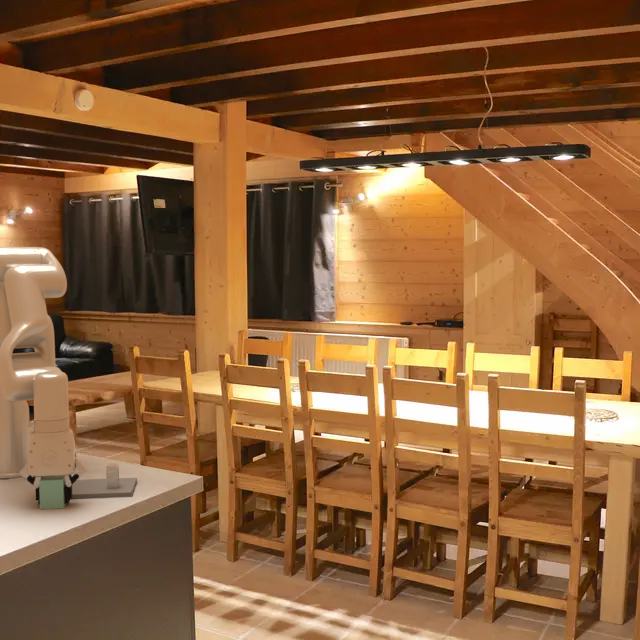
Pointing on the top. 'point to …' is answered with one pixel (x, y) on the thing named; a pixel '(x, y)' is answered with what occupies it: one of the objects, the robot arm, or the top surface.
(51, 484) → the sage green cube
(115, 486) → the post
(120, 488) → the stand board
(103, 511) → the top surface
